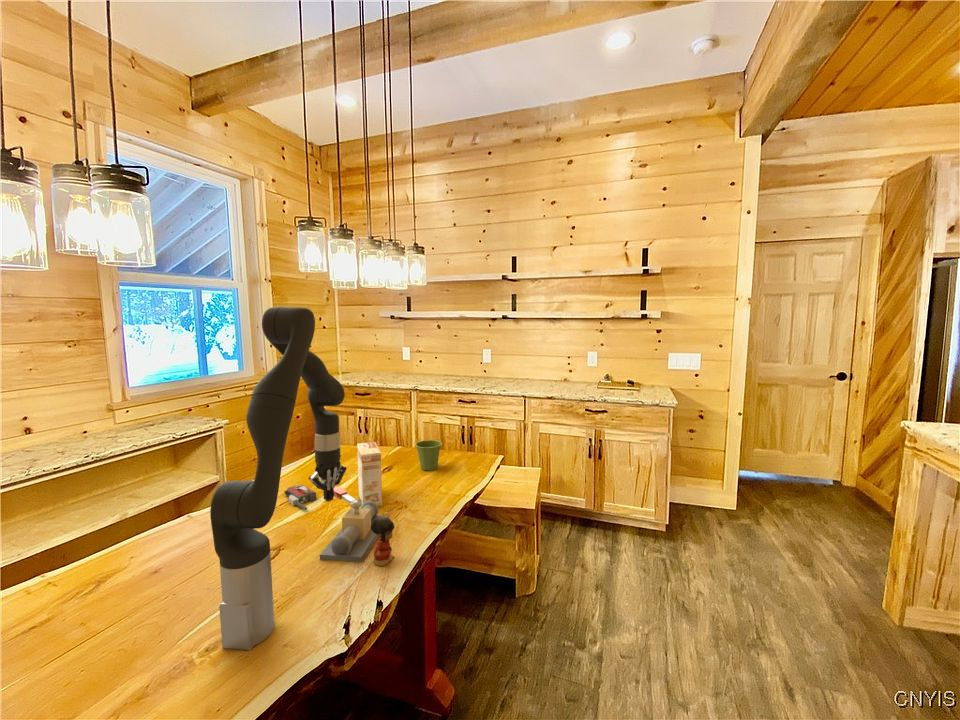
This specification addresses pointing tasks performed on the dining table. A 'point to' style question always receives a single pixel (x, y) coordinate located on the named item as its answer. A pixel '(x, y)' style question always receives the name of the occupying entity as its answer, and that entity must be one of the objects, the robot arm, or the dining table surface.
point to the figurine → (382, 541)
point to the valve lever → (347, 497)
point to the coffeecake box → (369, 473)
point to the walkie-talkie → (300, 495)
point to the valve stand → (354, 535)
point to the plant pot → (428, 453)
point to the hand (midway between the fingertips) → (328, 500)
